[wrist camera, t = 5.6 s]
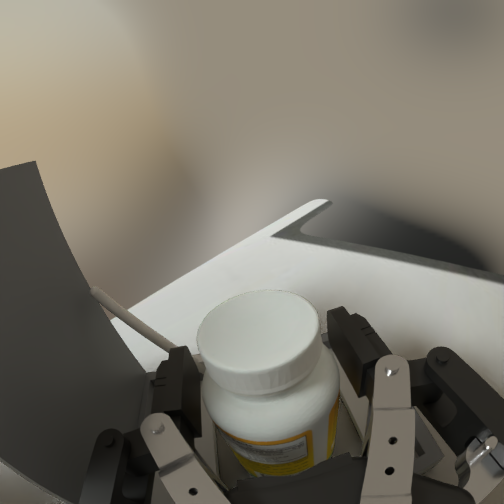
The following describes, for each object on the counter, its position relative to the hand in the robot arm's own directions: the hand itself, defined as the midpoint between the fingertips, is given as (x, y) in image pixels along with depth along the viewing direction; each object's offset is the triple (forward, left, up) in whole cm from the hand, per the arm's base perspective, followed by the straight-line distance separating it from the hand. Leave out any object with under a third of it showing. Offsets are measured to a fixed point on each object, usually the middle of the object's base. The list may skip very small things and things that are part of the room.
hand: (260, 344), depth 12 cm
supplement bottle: (0, -2, -7) cm, 7 cm away
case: (-1, -1, -7) cm, 7 cm away
